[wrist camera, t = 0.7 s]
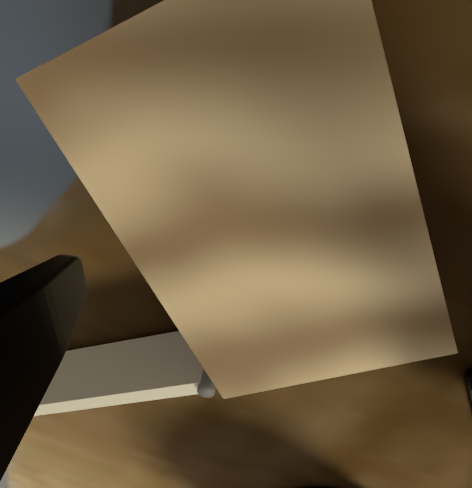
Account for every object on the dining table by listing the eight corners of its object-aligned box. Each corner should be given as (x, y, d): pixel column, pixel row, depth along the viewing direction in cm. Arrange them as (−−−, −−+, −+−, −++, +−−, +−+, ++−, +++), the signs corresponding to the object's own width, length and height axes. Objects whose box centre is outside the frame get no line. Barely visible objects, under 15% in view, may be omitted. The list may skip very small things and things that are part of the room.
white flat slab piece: (223, 319, 28) (211, 384, 24) (229, 330, 28) (217, 396, 24) (3, 359, 33) (-42, 419, 28) (11, 367, 33) (-32, 429, 29)
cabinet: (426, 279, 25) (458, 353, 20) (235, 327, 28) (223, 398, 24) (332, -79, 17) (347, -97, 12) (79, 52, 20) (14, 79, 15)
